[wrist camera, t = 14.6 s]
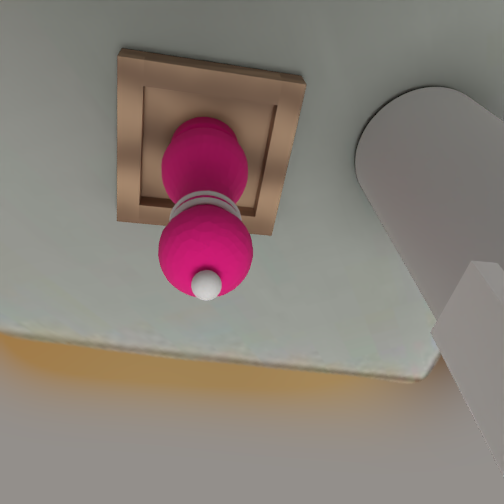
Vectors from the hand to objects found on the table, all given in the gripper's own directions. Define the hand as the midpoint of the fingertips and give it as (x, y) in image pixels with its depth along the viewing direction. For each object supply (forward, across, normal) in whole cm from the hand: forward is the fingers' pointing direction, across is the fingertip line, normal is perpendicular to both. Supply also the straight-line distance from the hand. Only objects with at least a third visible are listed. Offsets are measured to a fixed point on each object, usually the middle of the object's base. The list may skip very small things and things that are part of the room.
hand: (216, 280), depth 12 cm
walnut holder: (+31, +1, -11) cm, 33 cm away
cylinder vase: (+32, +21, -9) cm, 39 cm away
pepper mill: (+31, +1, -11) cm, 33 cm away
